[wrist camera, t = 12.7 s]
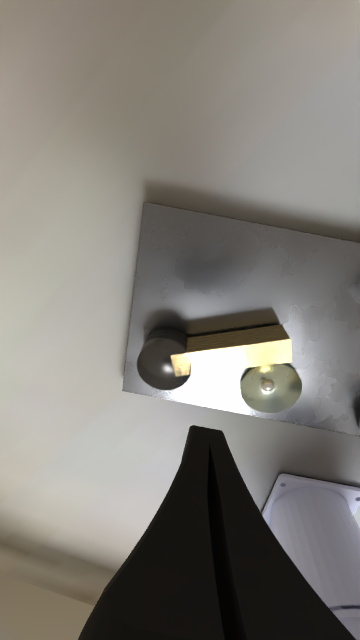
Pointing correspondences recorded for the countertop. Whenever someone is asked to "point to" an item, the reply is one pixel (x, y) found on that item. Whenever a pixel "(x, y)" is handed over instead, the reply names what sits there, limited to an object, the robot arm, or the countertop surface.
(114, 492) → the countertop surface
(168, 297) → the levelling plate
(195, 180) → the countertop surface
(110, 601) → the robot arm
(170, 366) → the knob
